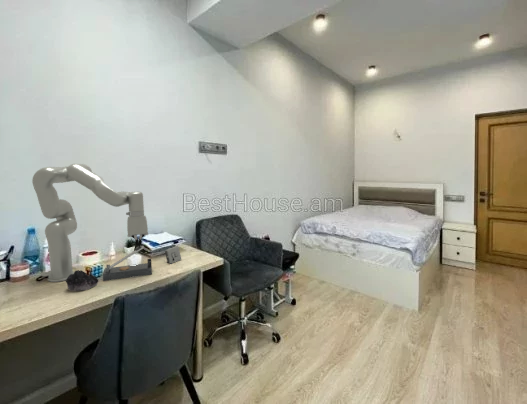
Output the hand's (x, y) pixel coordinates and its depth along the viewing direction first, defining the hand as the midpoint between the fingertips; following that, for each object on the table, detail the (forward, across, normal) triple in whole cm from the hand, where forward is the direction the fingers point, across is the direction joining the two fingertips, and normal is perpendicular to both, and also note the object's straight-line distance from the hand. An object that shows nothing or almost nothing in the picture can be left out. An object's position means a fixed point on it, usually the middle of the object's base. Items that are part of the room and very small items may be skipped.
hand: (138, 246), depth 152 cm
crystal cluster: (+16, -27, -8) cm, 32 cm away
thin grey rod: (+6, -7, 0) cm, 9 cm away
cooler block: (+16, -6, 0) cm, 17 cm away
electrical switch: (+16, +19, +14) cm, 29 cm away
